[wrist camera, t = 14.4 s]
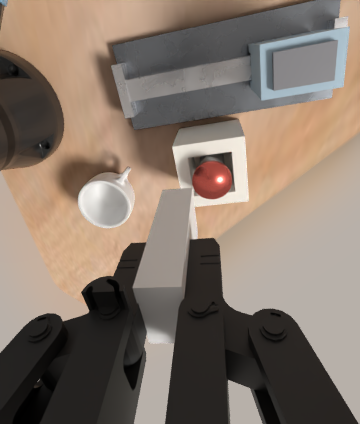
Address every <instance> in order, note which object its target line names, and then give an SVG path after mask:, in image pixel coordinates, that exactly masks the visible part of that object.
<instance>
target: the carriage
mask: <svg viewBox="0 0 360 424" xmlns="http://www.w3.org/2000/svg"><path fill="white" fill-rule="evenodd" d="M349 28H350V27H343V28H335V29H328V30H316V31H311V32H306V33H301V34H297V35H292V36H287V37H282V38H277V39H272V40H267V41H262V42H257V43H252V44H248V46H249V53H251V75H252V81H250V87H251V90H252V91H253V92H254V93H255V94H256V95H257V96H258V97H259V98H260V100H261V101H262V100H268V99H274V98H280V97H286V96H292V95H298V94H304V93H310V92H316V91H322V90H328V89H334V88H340V87H343V86H344V76H345V66H346V57H347V47H348V38H349Z"/></svg>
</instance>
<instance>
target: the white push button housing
mask: <svg viewBox="0 0 360 424" xmlns="http://www.w3.org/2000/svg"><path fill="white" fill-rule="evenodd" d="M172 149H173V154H174V159H175V164H176V169H177V174H178V179H179V184H180V189H182V188H192V190H193V198H194V206H195V207H199V206H208V205H217V204H227V203H236V202H245V201H249V195H248V179H247V163H246V147H245V135H244V133H243V130H242V127H241V124H240V121H239V119H236V120H230V121H224V122H218V123H211V124H205V125H199V126H192V127H186V128H180V129H179V131H178V133H177V136H176V138H175V141H174V143H173V146H172ZM218 153H223V154H224V161H225V165H226V166H227V167H228V168H229V170H230V172H231V176H232V185H231V188H230V190H229V191H228V193H227V194H226V195H224V196H223V197H221V198H218V199H206V198H203V197H201V196H200V195H198V194H197V193H196V191H195V190H194V188H193V185H192V178H193V173H194V171H195V169H196V168H197V167H198V166H199V163H200V156H203V155H210V154H218Z"/></svg>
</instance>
